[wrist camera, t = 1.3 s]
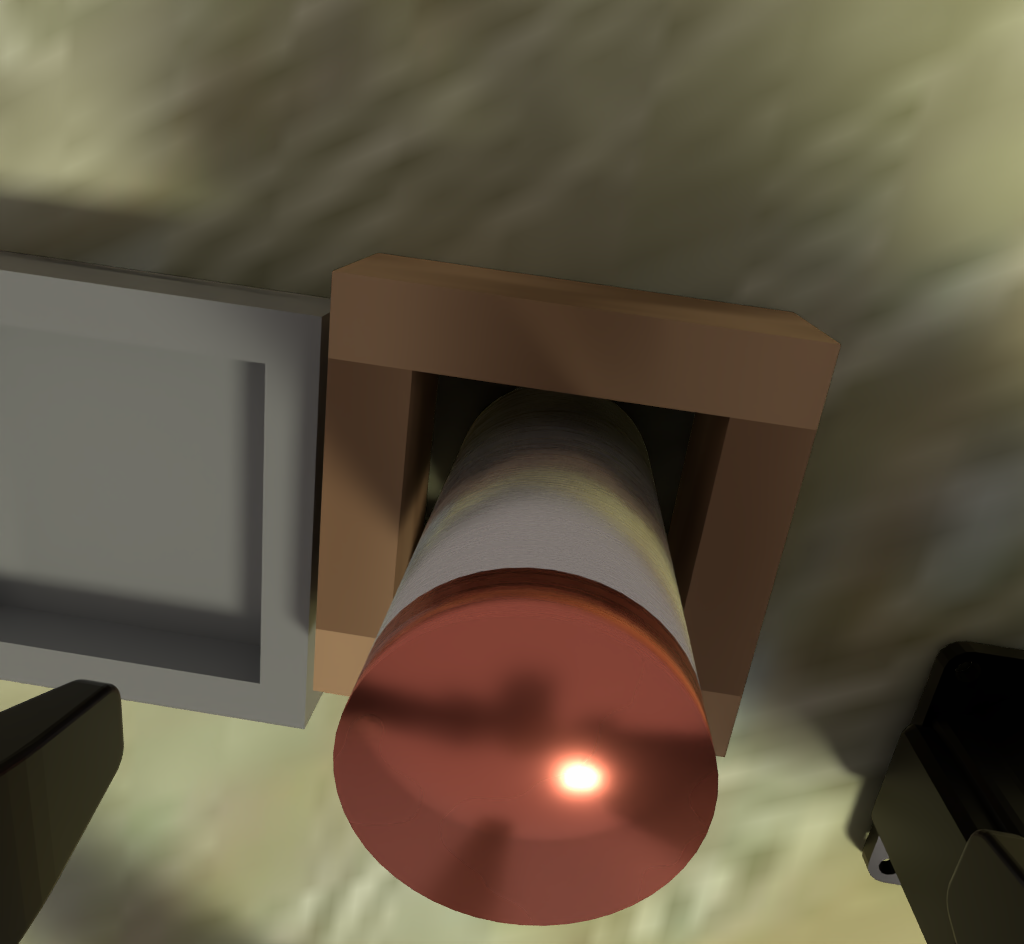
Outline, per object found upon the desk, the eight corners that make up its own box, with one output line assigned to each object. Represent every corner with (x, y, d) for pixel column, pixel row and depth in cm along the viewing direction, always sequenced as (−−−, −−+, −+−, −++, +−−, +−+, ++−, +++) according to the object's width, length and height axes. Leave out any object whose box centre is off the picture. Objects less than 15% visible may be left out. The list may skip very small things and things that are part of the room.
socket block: (793, 312, 15) (840, 344, 12) (702, 665, 18) (724, 757, 15) (377, 252, 15) (331, 271, 13) (354, 611, 18) (312, 690, 15)
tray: (349, 301, 16) (321, 316, 14) (329, 679, 19) (304, 729, 17) (-90, 237, 16) (-168, 245, 14) (-36, 620, 19) (-96, 664, 18)
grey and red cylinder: (667, 397, 16) (760, 652, 7) (631, 574, 17) (675, 952, 9) (469, 368, 16) (342, 585, 8) (449, 545, 17) (325, 892, 9)
